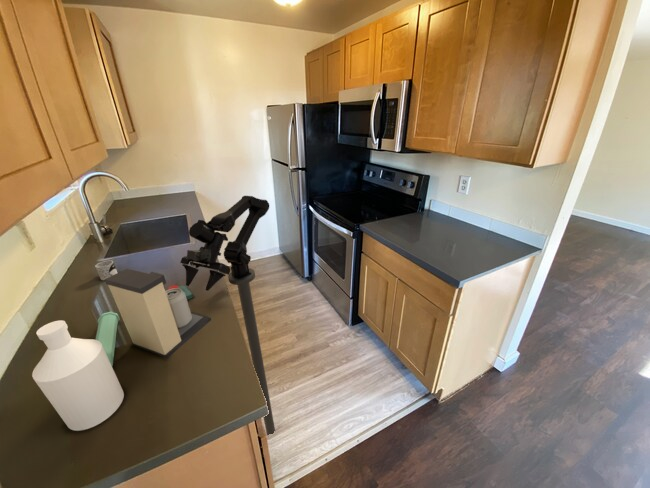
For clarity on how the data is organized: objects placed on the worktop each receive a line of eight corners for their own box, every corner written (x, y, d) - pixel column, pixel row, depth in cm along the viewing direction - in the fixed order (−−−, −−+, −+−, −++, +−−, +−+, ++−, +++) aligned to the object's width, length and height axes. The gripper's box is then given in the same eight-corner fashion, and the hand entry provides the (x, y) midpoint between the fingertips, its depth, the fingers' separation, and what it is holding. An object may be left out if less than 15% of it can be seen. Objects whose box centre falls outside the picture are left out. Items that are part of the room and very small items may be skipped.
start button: (177, 287, 110) (176, 284, 109) (180, 291, 108) (179, 287, 107) (167, 291, 108) (166, 287, 107) (170, 295, 105) (169, 291, 105)
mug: (115, 278, 125) (110, 265, 122) (98, 281, 123) (92, 268, 120) (122, 268, 134) (117, 256, 131) (106, 271, 132) (101, 258, 129)
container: (102, 358, 74) (110, 308, 93) (80, 373, 72) (93, 319, 92) (119, 368, 77) (124, 318, 97) (98, 383, 76) (107, 329, 95)
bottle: (68, 443, 60) (10, 359, 50) (62, 408, 68) (10, 329, 57) (130, 405, 68) (91, 325, 58) (118, 377, 75) (82, 303, 65)
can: (193, 312, 98) (184, 284, 93) (192, 326, 91) (183, 296, 86) (169, 318, 95) (159, 289, 90) (167, 332, 89) (156, 302, 84)
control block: (185, 288, 115) (183, 281, 114) (193, 297, 109) (191, 290, 108) (159, 298, 109) (156, 291, 108) (165, 308, 103) (163, 301, 102)
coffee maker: (179, 310, 101) (161, 251, 91) (211, 320, 96) (195, 258, 86) (132, 345, 86) (103, 279, 76) (166, 358, 81) (140, 289, 71)
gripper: (177, 236, 99) (159, 278, 94) (218, 242, 92) (201, 288, 88) (199, 247, 109) (183, 285, 104) (237, 253, 102) (222, 294, 98)
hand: (196, 288), depth 98 cm, fingers open, 9 cm apart
